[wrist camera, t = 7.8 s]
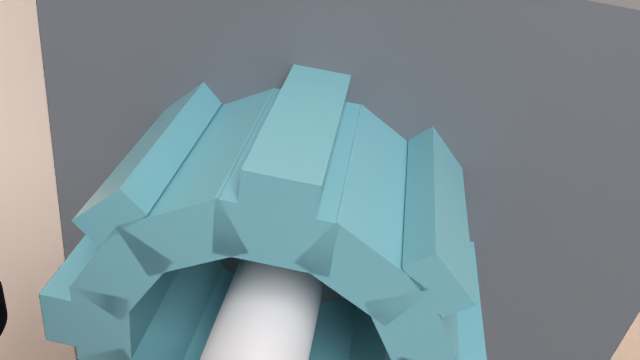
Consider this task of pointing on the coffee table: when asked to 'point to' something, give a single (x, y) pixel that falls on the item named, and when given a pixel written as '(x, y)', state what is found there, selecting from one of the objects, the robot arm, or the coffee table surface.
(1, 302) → the robot arm
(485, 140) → the gear board
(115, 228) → the teal gear
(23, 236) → the coffee table surface
